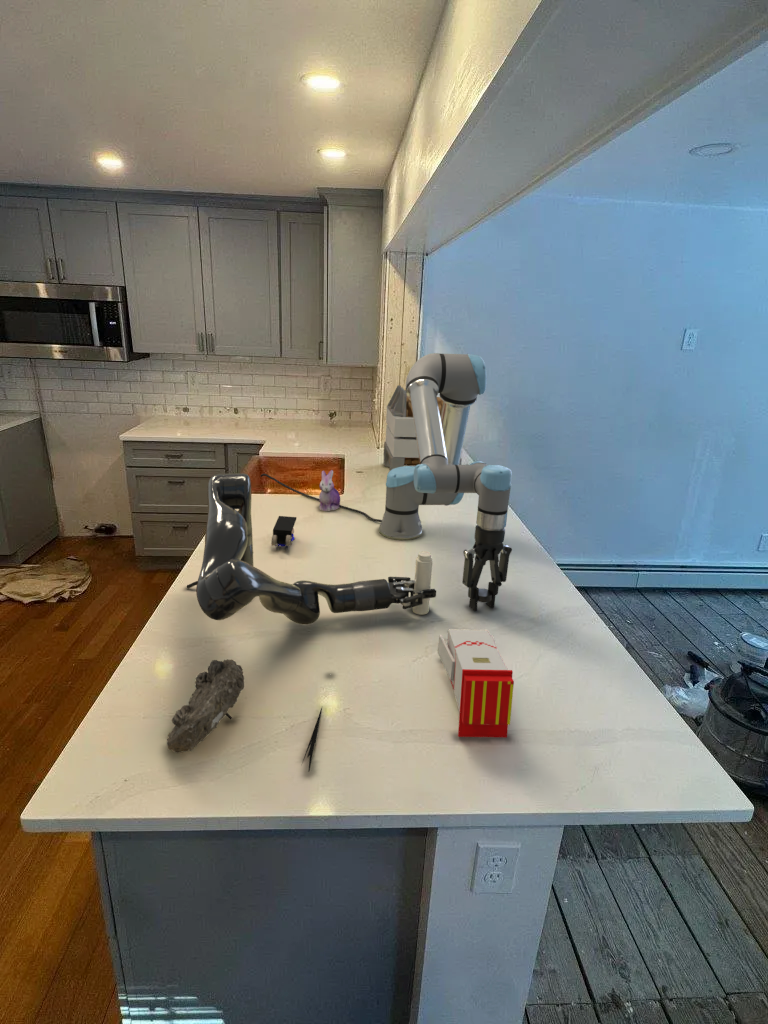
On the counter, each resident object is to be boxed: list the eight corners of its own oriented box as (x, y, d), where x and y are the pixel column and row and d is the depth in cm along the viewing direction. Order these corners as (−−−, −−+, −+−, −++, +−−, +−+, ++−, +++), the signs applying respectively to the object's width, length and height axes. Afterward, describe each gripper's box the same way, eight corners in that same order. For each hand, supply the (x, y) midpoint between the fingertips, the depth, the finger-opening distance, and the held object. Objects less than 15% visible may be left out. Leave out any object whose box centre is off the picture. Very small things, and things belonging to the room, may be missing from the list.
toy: (488, 613, 130) (523, 677, 101) (484, 667, 133) (517, 744, 104) (435, 612, 130) (455, 676, 101) (432, 666, 133) (451, 743, 103)
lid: (470, 596, 152) (470, 590, 152) (483, 592, 155) (483, 586, 154) (482, 604, 149) (482, 598, 148) (495, 600, 151) (496, 594, 151)
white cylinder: (430, 614, 148) (435, 556, 143) (414, 615, 147) (418, 557, 142) (426, 606, 152) (430, 550, 147) (410, 607, 151) (414, 550, 146)
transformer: (382, 463, 289) (386, 382, 275) (445, 464, 293) (451, 384, 279) (390, 482, 257) (394, 392, 243) (460, 483, 261) (468, 394, 247)
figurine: (322, 513, 216) (323, 475, 211) (313, 504, 224) (313, 468, 219) (345, 510, 220) (346, 473, 215) (335, 502, 229) (335, 466, 223)
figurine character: (291, 556, 181) (297, 534, 194) (291, 536, 177) (297, 514, 191) (270, 556, 181) (278, 533, 194) (269, 535, 177) (277, 513, 191)
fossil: (192, 660, 117) (244, 628, 112) (224, 691, 120) (276, 661, 115) (142, 746, 98) (202, 712, 93) (182, 779, 101) (242, 748, 96)
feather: (331, 679, 122) (336, 673, 122) (307, 777, 96) (313, 769, 95) (324, 675, 122) (329, 669, 121) (298, 772, 95) (304, 764, 95)
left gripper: (361, 595, 151) (421, 588, 156) (376, 622, 138) (441, 614, 143) (362, 569, 149) (423, 564, 154) (377, 595, 136) (443, 588, 141)
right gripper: (511, 518, 151) (501, 596, 159) (453, 524, 145) (445, 605, 153) (528, 527, 145) (517, 608, 153) (467, 534, 138) (459, 618, 146)
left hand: (431, 588), depth 148 cm, fingers closed on white cylinder, 4 cm apart
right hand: (481, 606), depth 153 cm, fingers closed on lid, 5 cm apart
